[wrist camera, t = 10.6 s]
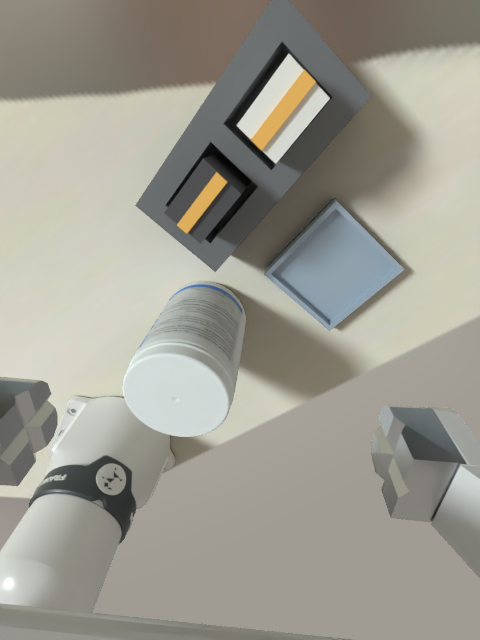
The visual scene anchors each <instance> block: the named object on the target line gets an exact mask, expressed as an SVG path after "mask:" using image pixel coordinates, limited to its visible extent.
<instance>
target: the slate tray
mask: <svg viewBox="0 0 480 640" xmlns="http://www.w3.org/2000/svg"><path fill="white" fill-rule="evenodd" d="M404 270H405V269H404V268H403V267H402V266H401V265H400V264H399V263H398V262H397V261H396V260H395V259H394V258H393V257H392V256H391V255H390V254H389V253H388V252H387V251H386V250H385V249H384V248H383V247H382V246H381V245H380V244H379V243H378V242H377V241H376V240H375V239H374V238H373V237H372V235H371V234H370V233H369V232H368V231H367V230H366V229H365V228H364V227H363V226H362V225H361V224H360V223H359V222H358V221H357V220H356V219H355V218H354V217H353V216H352V215H351V214H350V213H349V212H348V211H347V210H346V209H345V208H344V207H343V206H342V205H341V204H340V203H339V202H338V201H337V200H336V199H335V198H334V199H333V200H332V201H331V202H330V203H329V204H328V205H327V206H326V207H325V208H324V209H323V210H322V211H321V212H320V213H319V214H318V215H317V216H316V217H315V218H314V219H313V220H312V221H311V222H310V223H309V224H308V225H307V227H306V228H305V229H304V230H303V231H302V232H301V233H300V234H299V235H298V236H297V237H296V238H295V239H294V240H293V241H292V242H291V243H290V244H289V245H288V246H287V247H286V248H285V249H284V250H283V251H282V252H281V253H280V254H279V255H278V256H277V257H276V258H275V259H274V260H273V261H272V263H271V264H270V265H269V266H268V267H267V268H266V269H265V272H264V275H265V276H267V277H268V278H269V279H270V280H271V281H272V282H274V283H275V284H276V285H277V286H278V287H279V288H280V289H282V290H283V291H284V292H285V293H286V294H287V295H289V296H290V297H291V298H292V299H293V300H294V301H295V302H297V303H298V304H299V305H300V306H301V307H302V308H303V309H305V310H306V311H307V312H308V313H309V314H310V315H312V316H313V317H314V318H315V319H316V320H317V321H318V322H320V323H321V324H322V325H323V326H324V327H325V328H327V329H328V330H329V331H330V330H331V329H333V328H334V327H335V326H336V325H337V324H339V323H340V322H341V321H342V320H344V319H345V318H346V317H347V316H348V315H350V314H351V313H352V312H353V311H355V310H356V309H357V308H358V307H360V306H361V305H362V304H363V303H364V302H366V301H367V300H368V299H369V298H371V297H372V296H373V295H374V294H375V293H377V292H378V291H379V290H380V289H382V288H383V287H384V286H385V285H386V284H388V283H389V282H390V281H391V280H393V279H394V278H395V277H396V276H397V275H399V274H400V273H401V272H402V271H404Z"/></svg>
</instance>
